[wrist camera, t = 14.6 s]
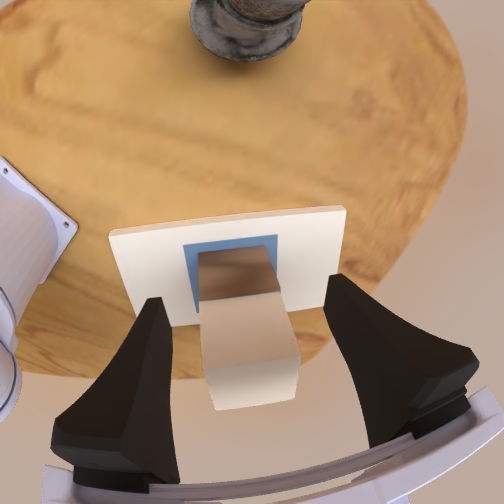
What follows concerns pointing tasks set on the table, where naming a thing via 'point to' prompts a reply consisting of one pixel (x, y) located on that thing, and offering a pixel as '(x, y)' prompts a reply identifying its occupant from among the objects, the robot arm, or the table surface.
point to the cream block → (248, 351)
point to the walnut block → (236, 273)
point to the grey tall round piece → (246, 26)
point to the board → (228, 237)
